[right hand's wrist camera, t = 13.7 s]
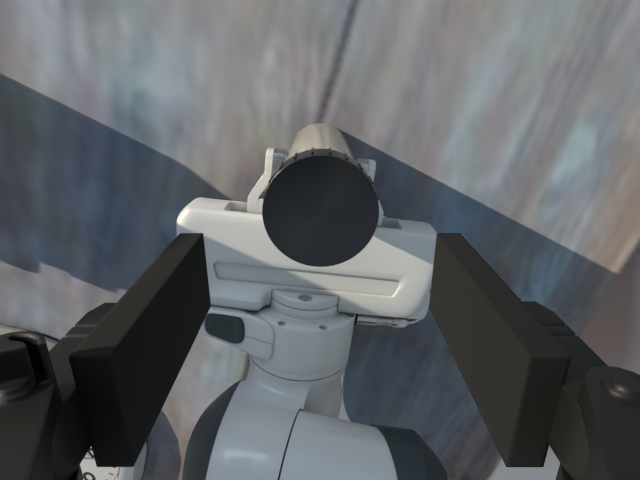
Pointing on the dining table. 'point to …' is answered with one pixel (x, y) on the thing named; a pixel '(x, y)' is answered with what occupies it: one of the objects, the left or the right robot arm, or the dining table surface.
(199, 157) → the dining table surface
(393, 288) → the left robot arm
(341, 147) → the white tall cylinder
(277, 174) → the lid
